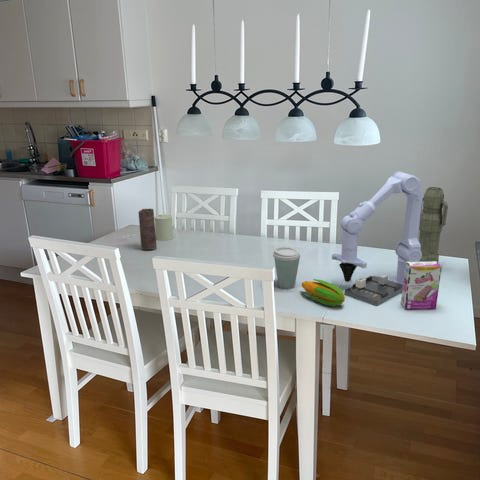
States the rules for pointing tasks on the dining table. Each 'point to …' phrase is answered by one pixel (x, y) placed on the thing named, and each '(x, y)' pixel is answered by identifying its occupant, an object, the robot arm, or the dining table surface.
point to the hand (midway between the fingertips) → (347, 280)
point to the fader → (383, 279)
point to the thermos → (432, 223)
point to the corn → (324, 292)
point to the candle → (147, 229)
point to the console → (374, 291)
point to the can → (163, 227)
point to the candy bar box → (420, 285)
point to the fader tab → (360, 282)
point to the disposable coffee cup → (286, 266)
